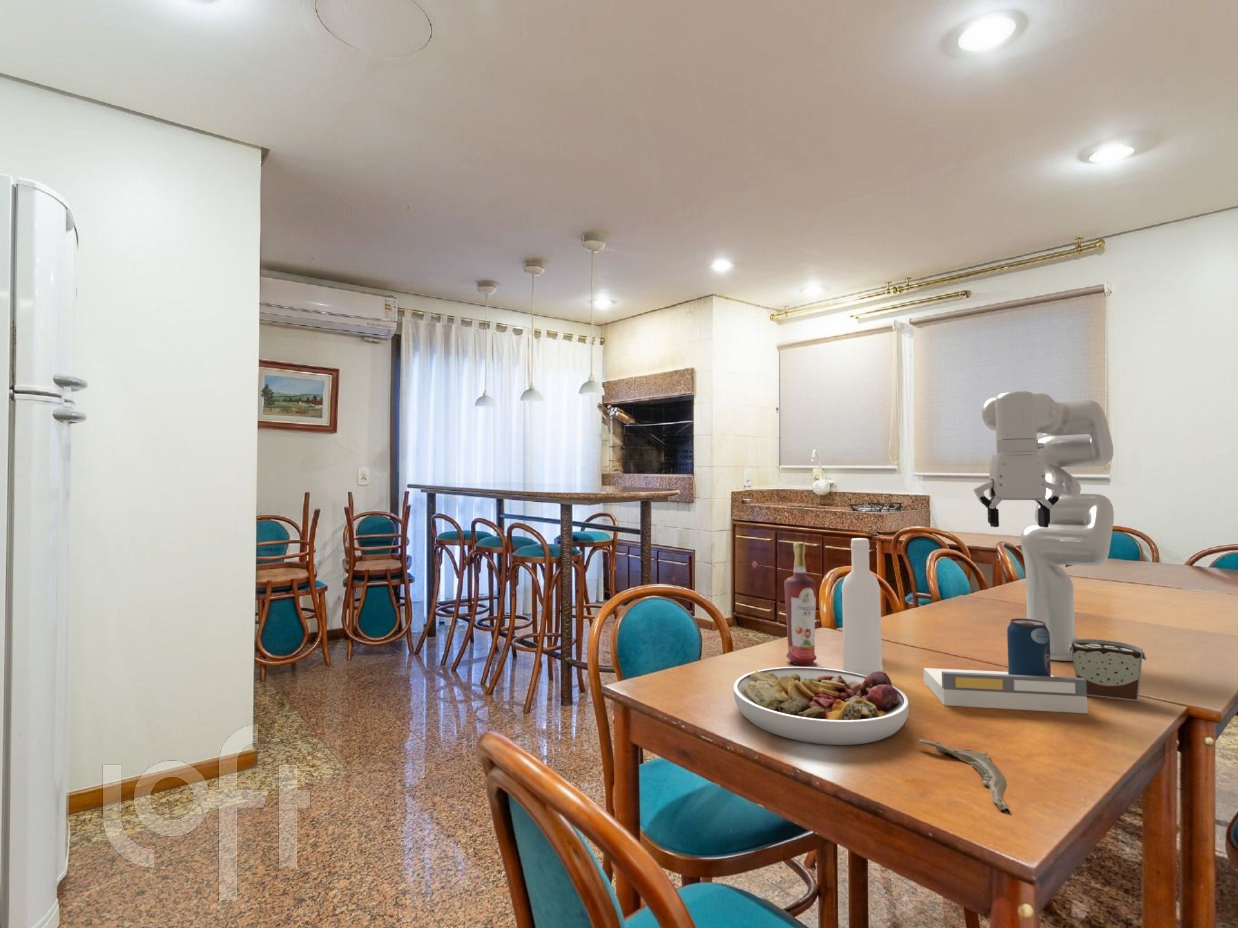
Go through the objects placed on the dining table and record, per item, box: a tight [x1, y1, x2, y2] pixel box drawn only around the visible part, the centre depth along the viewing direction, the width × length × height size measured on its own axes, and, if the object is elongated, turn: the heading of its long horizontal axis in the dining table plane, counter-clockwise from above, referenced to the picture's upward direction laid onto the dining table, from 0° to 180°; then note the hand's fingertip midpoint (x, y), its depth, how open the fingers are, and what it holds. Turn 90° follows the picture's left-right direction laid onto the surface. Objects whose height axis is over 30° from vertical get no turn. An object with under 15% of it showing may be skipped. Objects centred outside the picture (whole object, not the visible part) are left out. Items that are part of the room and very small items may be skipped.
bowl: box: [733, 666, 910, 746], centre depth 114 cm, size 30×30×8 cm
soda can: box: [1006, 618, 1052, 677], centre depth 122 cm, size 7×7×12 cm
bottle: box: [841, 537, 884, 676], centre depth 137 cm, size 8×8×30 cm
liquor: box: [783, 542, 817, 666], centre depth 149 cm, size 7×7×28 cm
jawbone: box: [917, 738, 1011, 814], centre depth 91 cm, size 9×20×2 cm, turn 4°
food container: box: [1068, 638, 1147, 702], centre depth 126 cm, size 12×6×10 cm, turn 65°
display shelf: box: [923, 667, 1088, 714], centre depth 124 cm, size 24×14×6 cm, turn 79°
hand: (1018, 526), depth 137 cm, fingers open, 9 cm apart
